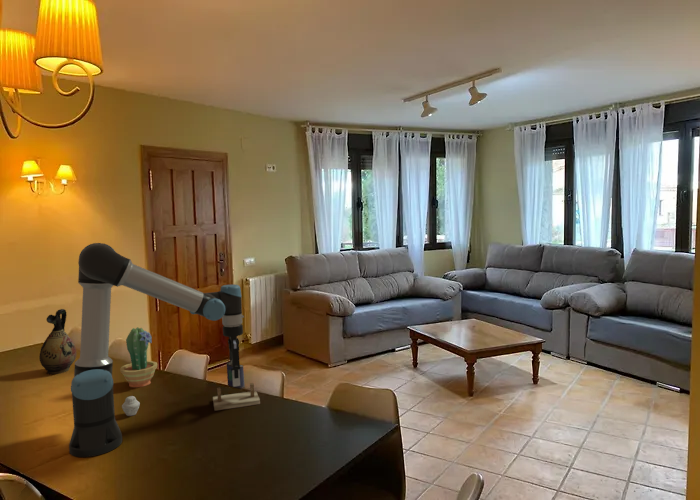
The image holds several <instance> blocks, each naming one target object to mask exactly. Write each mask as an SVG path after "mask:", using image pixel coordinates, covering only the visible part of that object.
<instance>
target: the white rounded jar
mask: <svg viewBox="0 0 700 500" xmlns="http://www.w3.org/2000/svg"><path fill="white" fill-rule="evenodd" d="M140 404H141V403H140V401H138V400H137V398H136V397H135V396H133V395H130V396H127V397H126V398H125V401H124V403H122V405H121V409H122V410H123V413H124V414H125V415H126V416H127V417H133V416H135V415H137V413H138V411H139V408H140Z"/></svg>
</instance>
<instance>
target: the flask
mask: <svg viewBox="0 0 700 500" xmlns="http://www.w3.org/2000/svg"><path fill="white" fill-rule="evenodd" d="M232 368H233V367H232V360H231V362H230V361H228V362H226V374H227V375H226V377H227V386H228V387H230V388H233V389H236V390H243V389H245V385H246V384H245V374H244V365H243V364H240V386H235V387H233V377H232V370H231V369H232Z"/></svg>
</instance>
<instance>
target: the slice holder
mask: <svg viewBox="0 0 700 500" xmlns="http://www.w3.org/2000/svg"><path fill="white" fill-rule="evenodd" d="M249 387H250V388H249V390H250V391H247V392H246V391H244V392H238V393H237V392H236V393H231V394H224V395H223V394H222V389H221V386H218V387H216V389H217V392H216V393H217V395H215V396H212V401H213V402H212V403H213V409H214V412H215V411H221V410H228V409H229V410H230V409H236V408H243V407H248V406H255V405H257V406H258V405H260V404H261V398H260V396H259V395H258V392H257V390H255V385H254V382H250V383H249Z"/></svg>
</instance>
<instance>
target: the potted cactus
mask: <svg viewBox="0 0 700 500" xmlns="http://www.w3.org/2000/svg"><path fill="white" fill-rule="evenodd" d="M152 339H153V338H152V334H151V333H150V332H149V331H146V330H144V329H143V328H142V327H136V328H134V327H133V328H132V329H131V330H130V331H129V333H128V335H127V337H126V339H125V344H126V348H127V352H128V354H129V357H130V363H127V364H124V365H122V366H121V367H120V368H119V369H120V373H121V374H122V375H123V377H124V379H125V380H126V381H127V383H128V385H129V387H130V388H142V387H147V386H149V385H150V384H151V383H152V382H151V380H152V378H153V377H154V375H155V371H156V369H157V368H158V362H156V361H152V360H148V357H147V356H148V353H147V351H148V348H149V344H152V342H153V341H152Z"/></svg>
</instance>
